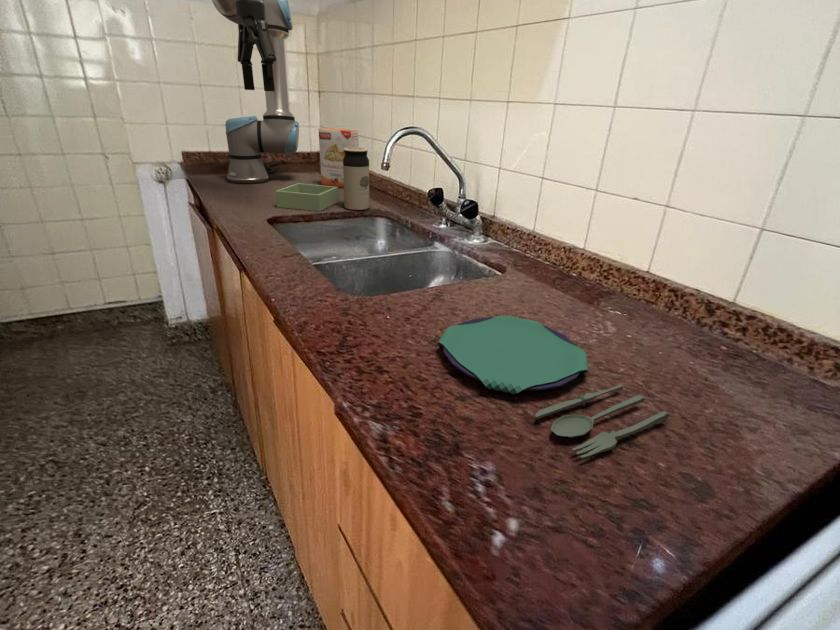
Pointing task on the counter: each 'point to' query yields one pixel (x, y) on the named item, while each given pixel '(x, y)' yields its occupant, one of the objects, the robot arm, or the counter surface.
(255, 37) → the robot arm
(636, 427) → the cutlery set
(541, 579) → the counter surface
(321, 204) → the crate
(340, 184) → the cracker box
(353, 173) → the travel mug
